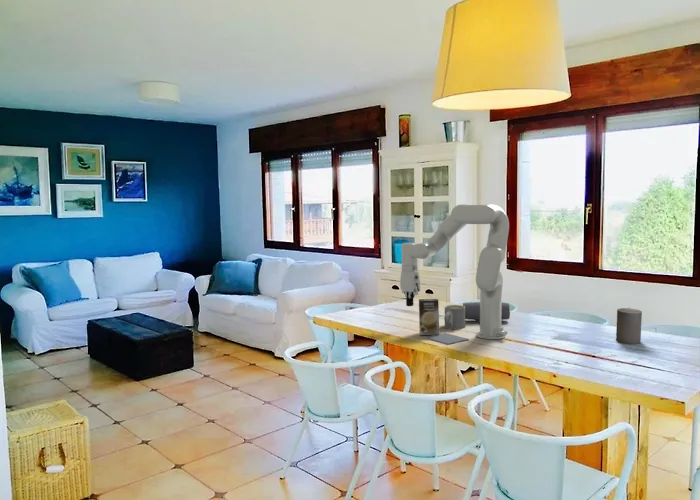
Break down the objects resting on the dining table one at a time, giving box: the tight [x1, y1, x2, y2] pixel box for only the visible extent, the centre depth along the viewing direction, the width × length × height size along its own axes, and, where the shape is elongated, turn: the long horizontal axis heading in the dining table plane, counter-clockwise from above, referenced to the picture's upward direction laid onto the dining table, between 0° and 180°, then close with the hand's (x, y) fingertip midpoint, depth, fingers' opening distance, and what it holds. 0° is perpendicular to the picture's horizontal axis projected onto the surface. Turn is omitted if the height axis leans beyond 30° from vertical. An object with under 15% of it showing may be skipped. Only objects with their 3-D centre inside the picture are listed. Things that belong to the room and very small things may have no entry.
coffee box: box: [418, 298, 440, 336], centre depth 258 cm, size 9×6×16 cm
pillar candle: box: [615, 307, 643, 345], centre depth 240 cm, size 10×10×15 cm
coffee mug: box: [443, 304, 466, 330], centre depth 272 cm, size 13×10×10 cm
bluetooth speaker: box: [462, 301, 511, 323], centre depth 285 cm, size 23×9×10 cm, turn 84°
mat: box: [424, 332, 470, 346], centre depth 250 cm, size 15×13×1 cm
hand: (409, 305), depth 269 cm, fingers closed
